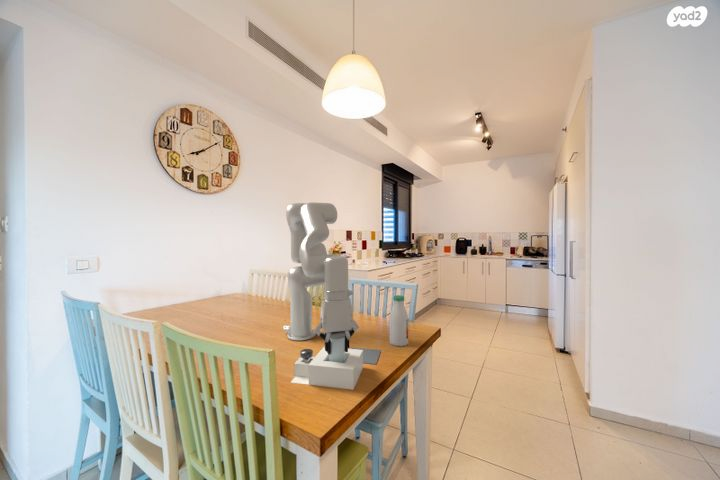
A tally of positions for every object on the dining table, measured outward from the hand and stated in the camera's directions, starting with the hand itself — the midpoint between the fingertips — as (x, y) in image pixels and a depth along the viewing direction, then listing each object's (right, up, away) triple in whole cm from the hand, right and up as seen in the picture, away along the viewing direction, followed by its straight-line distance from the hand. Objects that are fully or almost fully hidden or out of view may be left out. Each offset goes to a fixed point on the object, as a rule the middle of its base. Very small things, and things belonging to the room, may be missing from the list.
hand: (337, 351), depth 92 cm
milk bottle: (+24, -8, +29) cm, 38 cm away
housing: (-3, -9, +1) cm, 9 cm away
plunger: (-10, -7, +3) cm, 13 cm away
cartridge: (0, -8, 0) cm, 8 cm away
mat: (+8, -8, +15) cm, 19 cm away
